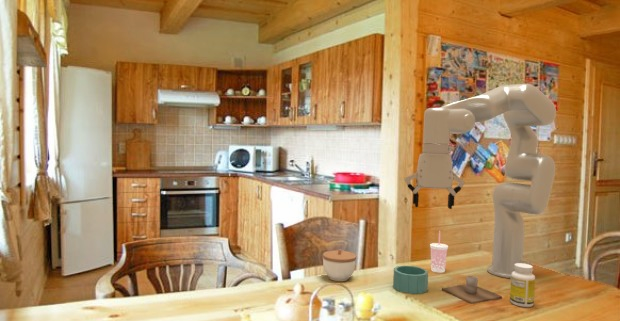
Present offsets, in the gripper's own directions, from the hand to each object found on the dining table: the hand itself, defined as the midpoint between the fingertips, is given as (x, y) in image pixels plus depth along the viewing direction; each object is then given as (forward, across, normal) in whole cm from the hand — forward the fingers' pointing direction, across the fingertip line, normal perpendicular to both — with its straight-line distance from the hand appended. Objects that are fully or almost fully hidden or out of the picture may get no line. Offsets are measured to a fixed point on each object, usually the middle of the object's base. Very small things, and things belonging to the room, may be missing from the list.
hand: (432, 207), depth 133 cm
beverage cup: (+26, -6, -23) cm, 35 cm away
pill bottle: (+26, -25, +4) cm, 36 cm away
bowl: (+26, +6, -2) cm, 26 cm away
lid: (+26, -12, 0) cm, 29 cm away
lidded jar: (+26, +28, -6) cm, 38 cm away
